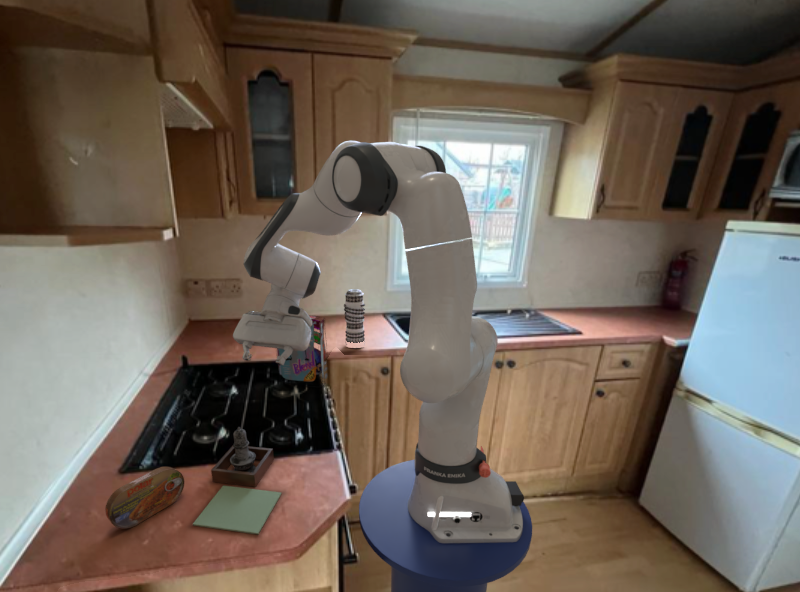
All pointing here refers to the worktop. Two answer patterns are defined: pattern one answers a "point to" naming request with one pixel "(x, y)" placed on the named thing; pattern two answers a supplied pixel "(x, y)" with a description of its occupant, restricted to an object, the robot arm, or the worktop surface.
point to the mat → (238, 509)
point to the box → (306, 358)
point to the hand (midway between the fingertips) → (262, 361)
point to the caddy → (240, 477)
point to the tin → (144, 497)
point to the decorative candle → (354, 316)
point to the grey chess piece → (242, 453)
